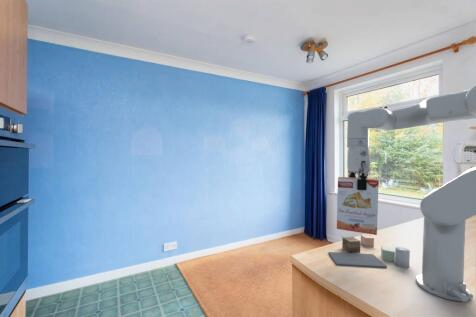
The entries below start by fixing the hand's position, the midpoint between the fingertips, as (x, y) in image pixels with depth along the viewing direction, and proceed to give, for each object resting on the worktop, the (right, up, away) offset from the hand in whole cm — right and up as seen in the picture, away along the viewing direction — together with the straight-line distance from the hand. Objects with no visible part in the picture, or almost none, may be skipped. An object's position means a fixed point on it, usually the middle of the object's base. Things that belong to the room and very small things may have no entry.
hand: (356, 188), depth 87 cm
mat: (0, -29, +1) cm, 29 cm away
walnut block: (+3, -29, +10) cm, 31 cm away
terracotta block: (+13, -29, +16) cm, 35 cm away
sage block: (+14, -29, +2) cm, 32 cm away
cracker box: (0, -17, 0) cm, 17 cm away
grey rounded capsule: (+16, -29, -3) cm, 33 cm away
